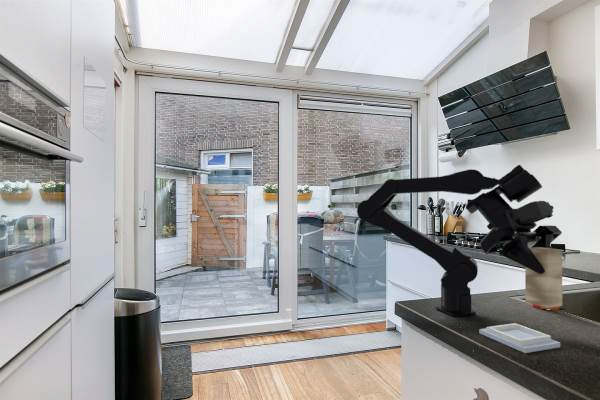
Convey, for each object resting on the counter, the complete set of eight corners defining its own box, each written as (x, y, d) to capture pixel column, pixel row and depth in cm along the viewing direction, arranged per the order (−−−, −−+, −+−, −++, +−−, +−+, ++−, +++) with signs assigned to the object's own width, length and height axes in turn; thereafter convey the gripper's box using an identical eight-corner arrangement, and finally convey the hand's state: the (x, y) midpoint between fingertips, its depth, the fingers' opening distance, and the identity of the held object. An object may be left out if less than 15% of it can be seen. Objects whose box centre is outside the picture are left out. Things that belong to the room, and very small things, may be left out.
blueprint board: (479, 333, 70) (479, 325, 70) (511, 328, 73) (511, 320, 73) (525, 353, 61) (524, 343, 61) (560, 347, 63) (560, 338, 63)
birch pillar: (525, 302, 72) (525, 248, 72) (539, 300, 73) (539, 247, 73) (547, 308, 68) (547, 250, 68) (562, 305, 69) (562, 249, 69)
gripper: (492, 187, 71) (550, 248, 60) (551, 189, 78) (612, 244, 68) (460, 224, 78) (507, 284, 68) (517, 222, 85) (567, 277, 75)
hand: (550, 272), depth 69 cm, fingers closed on birch pillar, 4 cm apart
